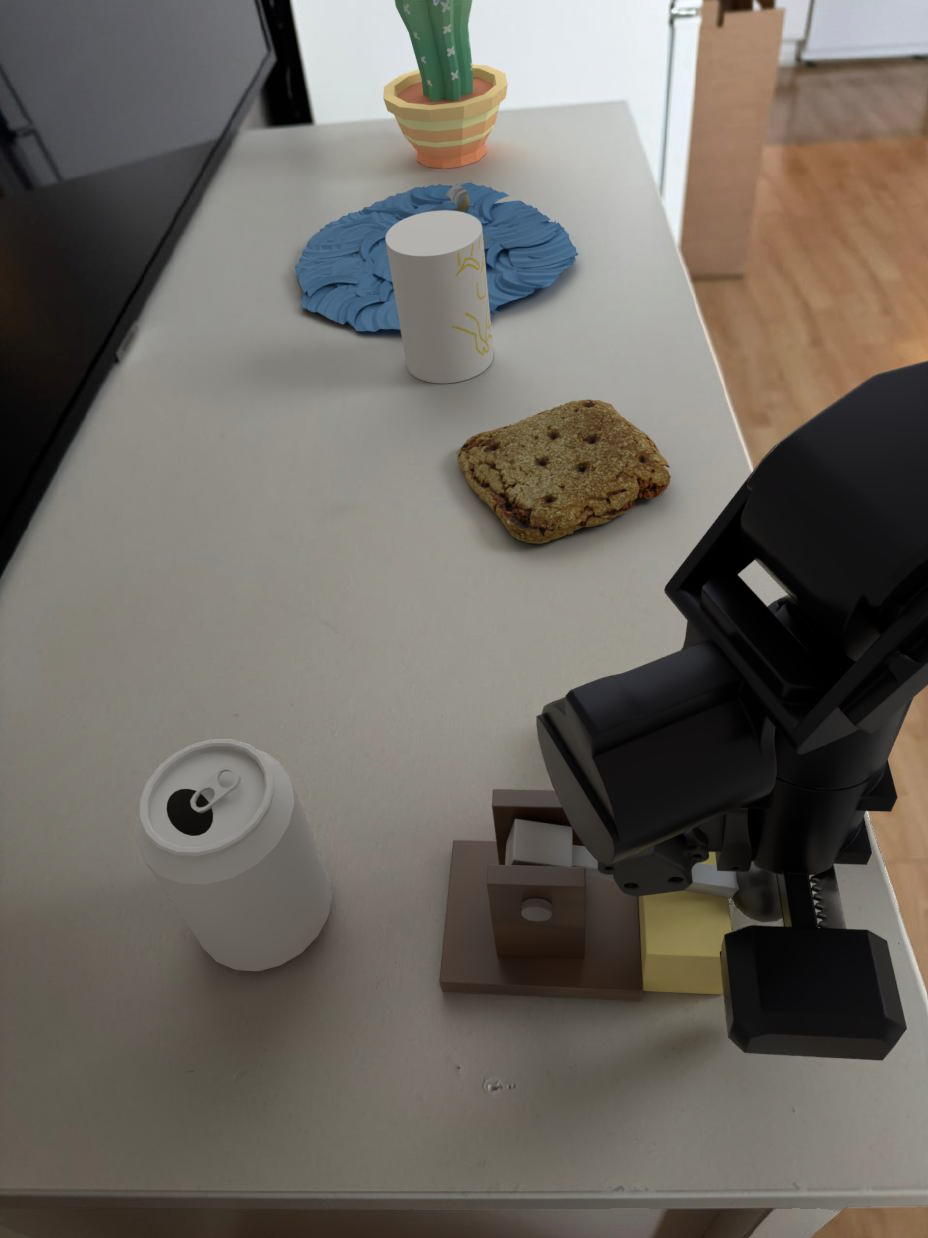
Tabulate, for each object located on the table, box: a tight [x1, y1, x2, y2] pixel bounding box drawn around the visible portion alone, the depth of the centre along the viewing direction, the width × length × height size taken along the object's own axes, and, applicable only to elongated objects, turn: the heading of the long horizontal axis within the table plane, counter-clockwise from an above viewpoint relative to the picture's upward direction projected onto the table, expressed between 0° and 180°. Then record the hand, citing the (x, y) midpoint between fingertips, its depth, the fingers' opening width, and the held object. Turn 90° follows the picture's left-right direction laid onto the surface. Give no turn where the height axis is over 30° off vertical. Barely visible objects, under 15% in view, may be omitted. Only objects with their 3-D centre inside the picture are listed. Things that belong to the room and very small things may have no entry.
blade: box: [505, 819, 782, 923], centre depth 45 cm, size 14×3×3 cm, turn 85°
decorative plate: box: [294, 182, 579, 333], centre depth 99 cm, size 30×30×5 cm
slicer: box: [438, 788, 644, 1002], centre depth 47 cm, size 10×8×9 cm
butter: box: [639, 852, 732, 996], centre depth 48 cm, size 4×7×4 cm, turn 175°
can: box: [135, 738, 333, 972], centre depth 48 cm, size 8×8×12 cm
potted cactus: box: [382, 0, 509, 170], centre depth 111 cm, size 15×15×25 cm
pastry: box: [457, 399, 672, 545], centre depth 74 cm, size 17×17×3 cm
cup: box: [385, 210, 494, 384], centre depth 84 cm, size 8×8×12 cm
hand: (755, 912), depth 48 cm, fingers open, 9 cm apart
